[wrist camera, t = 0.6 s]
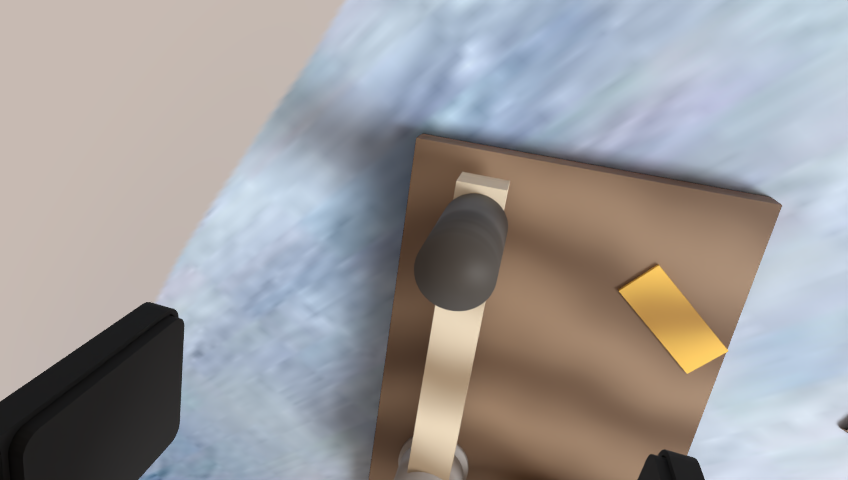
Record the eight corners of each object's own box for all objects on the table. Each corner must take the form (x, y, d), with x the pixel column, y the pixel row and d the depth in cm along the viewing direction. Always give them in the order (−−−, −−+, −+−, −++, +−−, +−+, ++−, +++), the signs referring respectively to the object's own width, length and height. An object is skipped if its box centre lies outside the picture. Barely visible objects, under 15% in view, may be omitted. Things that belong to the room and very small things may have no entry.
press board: (631, 573, 38) (646, 673, 32) (369, 500, 41) (338, 580, 35) (771, 197, 29) (829, 238, 23) (422, 133, 31) (391, 155, 25)
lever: (455, 515, 37) (429, 646, 29) (394, 499, 37) (352, 622, 29) (526, 181, 29) (517, 234, 21) (448, 166, 29) (411, 213, 21)
